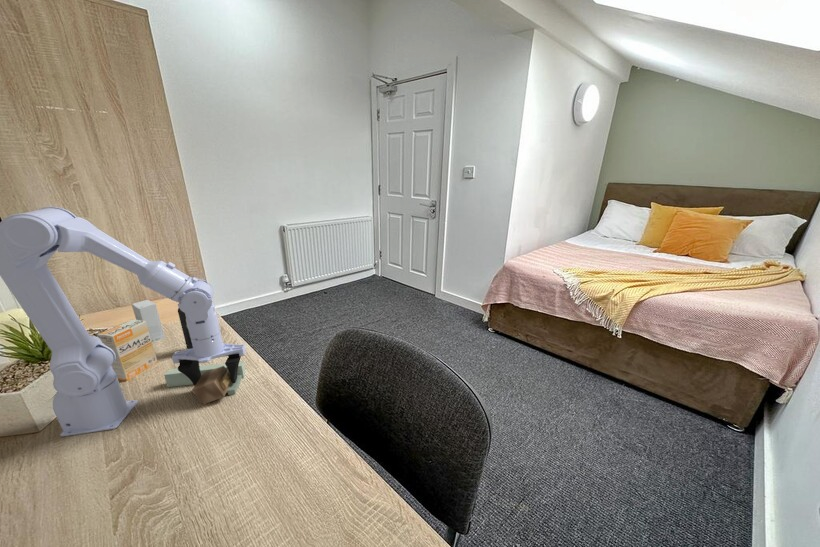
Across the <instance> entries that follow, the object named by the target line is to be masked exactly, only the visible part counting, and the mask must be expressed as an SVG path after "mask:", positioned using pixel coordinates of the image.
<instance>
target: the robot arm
mask: <svg viewBox="0 0 820 547" xmlns="http://www.w3.org/2000/svg"><path fill="white" fill-rule="evenodd" d="M56 252H58V253H78V252H79V253H83V252H84V253H85V252H86V253H89V254H92V255H94V256H96V257H99V259H102V260H104V261H107V262H109V263H111V264H113V265H115V266H117V267H120V268H122V269H124V270H126V271H127V272H128V271H129V272H131V274H135V275H136V276H137V278H138V280H139V281H138V282H139V284H140V285H142V286H144V287H145V288H147V289H149V290H152V291H153V292H156V293H157V294H159V295H161V296H163V297H165V298H167V299H169V300H171V301H173V302H176V303H177V307H178V308H179V309H180V310H181V311H183V312H184V313H185V315H186V322H187V326H188V330H189V334H190V338H191V342H192V346H193V348H192V349H188V350H187V349H185V350H179V351H178V350H177V351H175V352H173V354H172V355H171V358H172V363H173V364H178V366H177V369H178V371H180V372H181V373H183V374H184V375H186V376H187V377H188V378H189V379H190V380H191V381H192V383H193V384H192V385H194V386H195V385H196V383H197V382H198V380H199V379H200V377H201V372H200V367H199V366H200V364H206V363H208V362H210V361H212V360H214V359H218V358H223V357H227V359H226V360H225V365H226V366H227V368H228V370H229V373H230V379H231V382H232V383H235V382H236V380H237V372H238V365H239V362H240V361H241V357H243V356H245V355H246V352H247V348H246V344H234V343H233V344H232V343H224V342H223V337H222V333H221V328H220V322H219V318H218V317H219V316H218V314H217V311H216V306H215V304H214V301H213V298H214V294H215V293H214V288H213V286H212V285H211V284H210V283H209V282H208V281H207V280H206V279H201V278H200V279H199V278H197V277H195V276H193V277H191V276H189V275H188V274H186V273H185V272H183V271H181V270H180V269H177V268H176V264H175V263H173V262H171V261H169V262H165V261H164V260H149V259H148V258H145V257H144V256H143V255H141V254H140V253H137V252H136V251H135V250H132V249H131V248H130V247H128V246H126V245H125V244H123V243H121V242H120V241H118V240H117V239H115V238H114V237H112V236H111V235H109V234H107V233H105V232H104V231H102V230H100V229H99V228H98V227H97V226H95V225H94V224H92V222H90V221H89V220H87V219H86V218H83V217H80V216H76V214H74V213H73V212H71V211H70V210H68V209H66V208H63V207H59V206H46V207H41V208H39V209H36V210H32V211H27V212H24V213H23V212H21V213H20V212H19V213H15V214H10V215H8V216H7V217H4V218H3V219H2V221H0V277H1V279H2V281H3V282H4V283H5V285H6V287H7V289H9V291H10V292H11V294H12V295H13V297H14V299H15V300H16V301H17V303H18V304H19V306H20V307H21V309H22V310H23V311H24V313H25V314H26V316H27V317H28V319H29V320H30V322H31V324H32V325H33V326H34V328H35V329H36V330H37V332H38V334H39V335H40V336H41V338H42V340H44V342H45V344H46V345H47V347H48V348H49V350H50V351H51V357H50V363H49V371H50V372H51V373H52V375H53V380H52V381H53V382H52V386H53V389H55V391H56V393H55V395H54V397H53V399H52V410H53V412H54V414H55V416H56V419H57V421H58V423H59V425H60V427H61V429H62V432H61V433H60V434H59V435H60V437H69V436H75V435H82V434H89V433H96V432H102V431H108V430H116V429H117V428H118V427H119V426H120V425H121V423H122V422H123V421H124V420H125V419H126V418H127V416H128V415H129V414H130V413H131V411H132V410H133V409H134V407H135V406H136V405H137V404H138V403H139V401H138V400H137V399H134V400H126V398H125V395H124V392H123V390H122V387H121V384H120V382H119V381H120V380H118V378H117V376H116V373H115V372H114V370H113V368H112V366H111V365H112V364H113V363H114V362H115V359H116V355H115V352H114V351H113V350H112V349H111V348H109V347H107V346H106V345H104V344H103V343H102V341H101V340H100V338H98V336H94V335H90V334H89V332H88V330H87V329H86V327H85V325H84V324H83V322H82V321H81V319H80V317H79V316H78V314H77V312H76V311H75V309H74V307H73V306H72V305H71V303H70V301H69V299H68V297H67V295H66V294H65V293H64V291H63V289H62V287H61V286H60V284H59V283H58V281H57V279H56V278H55V276H54V274H53V273H52V271H51V269H50V268H49V266H48V264H47V263H48V262H49V261H50V260H51V258H52V257H53V255H55V253H56Z"/></svg>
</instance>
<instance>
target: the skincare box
mask: <svg viewBox="0 0 820 547" xmlns="http://www.w3.org/2000/svg"><path fill="white" fill-rule="evenodd" d="M131 308H132V310H133V314H134V316H135V320H141V321H146V324H147V327H148V331H149V334H150V338H151V341H152V344H154V343H155V342H159V341H160V340H161V341H162V340H164V339H166V335H165V333H164V329H163V325H162V322H161V318H160V314H159V311H158V308H157V304H156V303H154V302H153V301H151V300H149V299H145V300H141V301H138V302H134V303H131Z"/></svg>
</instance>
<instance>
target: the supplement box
mask: <svg viewBox="0 0 820 547" xmlns="http://www.w3.org/2000/svg"><path fill="white" fill-rule="evenodd" d="M96 337H98V338H100V340H101V341H102V343H103V344H104V345H106V346H107V347H109V348H111V349H112V350H113V351H114V352H115V355H116V359H115V362H114V363H113V364H112V365H111V366H112V368H113V370H114V372H115V373H116V376H117V378H118V381H123V382H129V381H131V379H134V378H135V377H136V376H138V375H140V374H141V373H143V372H145V371H146V370H147V369H149V368H151V367H153V366H154V365H156V364H158V363H159V362H158V359H157V356H156V352H155V349H154V346H153V343H152V341H151V338H150V334H149V331H148V327H147V324H146V321H141V320H136V319H130V320H128V321H126V322H123V323H121V324H118V325H116V326H114V327H112V328H109V329H107V330H105V331H102V332H100V333H97V334H96Z"/></svg>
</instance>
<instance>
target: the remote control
mask: <svg viewBox="0 0 820 547" xmlns="http://www.w3.org/2000/svg"><path fill="white" fill-rule="evenodd" d="M177 313H178V317H179V322H180V326H181V331H182V334H183V337H184V341H185V342H184V343H185V345H186V350H188V349H192V348H193V346H192V342H191V338H190V334H189V330H188V326H187V322H186V315H185V313H184V312H183V311H181V310H180V309H179V307H178V309H177Z"/></svg>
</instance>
